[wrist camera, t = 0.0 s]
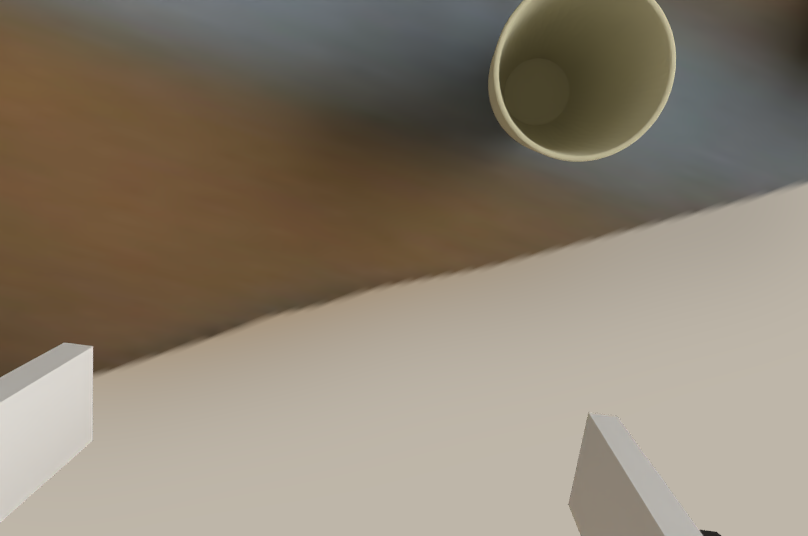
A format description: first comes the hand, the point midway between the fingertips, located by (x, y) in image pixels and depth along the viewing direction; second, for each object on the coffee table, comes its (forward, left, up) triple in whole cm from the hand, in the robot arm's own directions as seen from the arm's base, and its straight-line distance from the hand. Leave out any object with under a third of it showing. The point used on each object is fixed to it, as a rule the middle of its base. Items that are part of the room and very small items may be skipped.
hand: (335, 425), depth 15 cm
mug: (-13, +9, -28) cm, 32 cm away
